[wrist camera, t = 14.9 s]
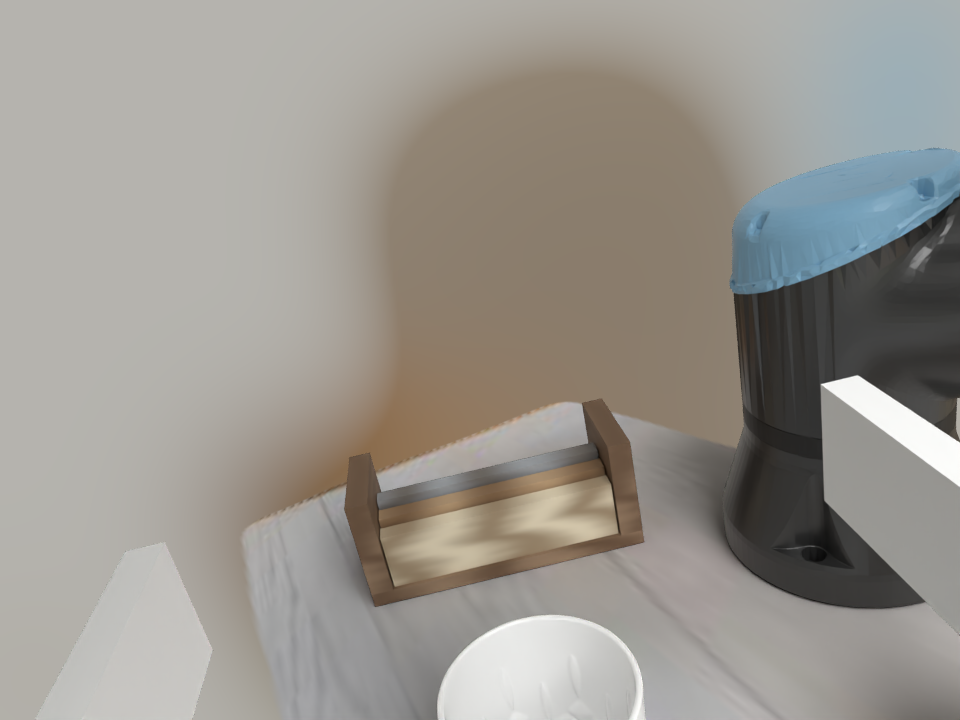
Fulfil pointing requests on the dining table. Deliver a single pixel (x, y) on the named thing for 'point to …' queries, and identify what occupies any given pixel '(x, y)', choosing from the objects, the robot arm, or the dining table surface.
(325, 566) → the dining table surface
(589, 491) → the offcut rack
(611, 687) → the white cup
